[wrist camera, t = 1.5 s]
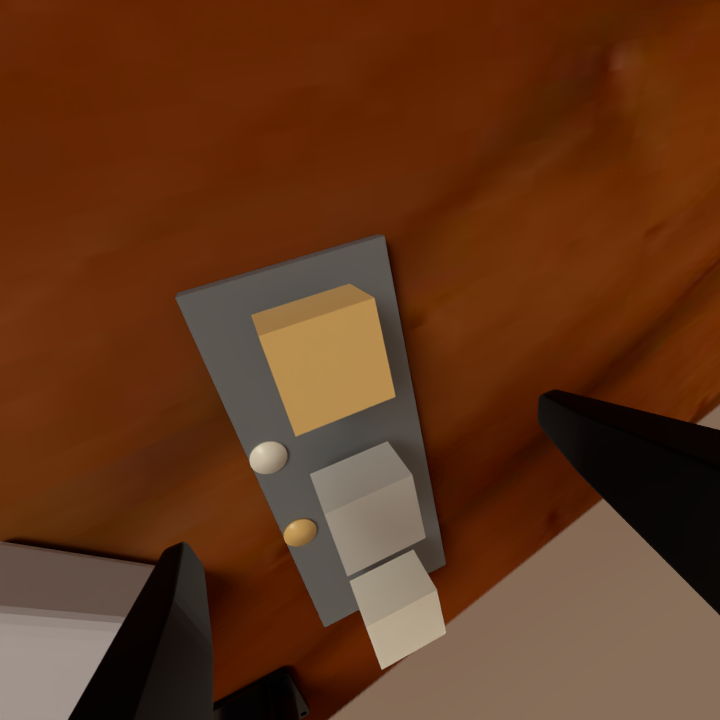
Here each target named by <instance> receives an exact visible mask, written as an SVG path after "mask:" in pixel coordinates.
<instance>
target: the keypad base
mask: <svg viewBox="0 0 720 720" xmlns="http://www.w3.org/2000/svg"><path fill="white" fill-rule="evenodd" d="M347 284H351V285H353V286H355V287H357V288H358V289H360V290H362V291H364V292H365V293H367V294H369V295H371V296H372V297H374V298H375V303H376V307H377V312H378V317H379V321H380V326H381V331H382V335H383V340H384V345H385V349H386V354H387V359H388V363H389V368H390V373H391V377H392V382H393V387H394V392H395V396H396V397H394V398H391V399H389V400H386V401H384V402H381V403H379V404H376V405H374V406H371V407H369V408H366V409H364V410H361V411H359V412H356V413H354V414H351V415H349V416H346V417H344V418H341V419H339V420H336V421H334V422H331V423H329V424H326V425H324V426H321V427H319V428H316V429H314V430H311V431H309V432H306V433H304V434H301V435H299V436H295V434H294V431H293V428H292V426H291V423H290V420H289V418H288V415H287V412H286V409H285V407H284V404H283V401H282V399H281V396H280V393H279V390H278V388H277V385H276V382H275V380H274V377H273V374H272V372H271V369H270V366H269V363H268V361H267V358H266V355H265V353H264V350H263V347H262V345H261V342H260V339H259V336H258V334H257V331H256V328H255V325H254V322H253V319H252V316H251V315H252V314H256V313H259V312H262V311H265V310H268V309H271V308H274V307H278V306H281V305H284V304H287V303H290V302H293V301H296V300H300V299H303V298H306V297H309V296H312V295H315V294H318V293H322V292H325V291H328V290H331V289H334V288H337V287H340V286H344V285H347ZM175 298H176V300H177V303H178V305H179V307H180V309H181V311H182V314H183V316H184V318H185V320H186V322H187V325H188V327H189V329H190V331H191V333H192V336H193V338H194V340H195V342H196V345H197V347H198V349H199V351H200V353H201V356H202V358H203V360H204V362H205V364H206V367H207V369H208V371H209V373H210V375H211V378H212V380H213V382H214V384H215V386H216V389H217V391H218V393H219V395H220V398H221V400H222V402H223V404H224V406H225V409H226V411H227V413H228V415H229V417H230V420H231V422H232V424H233V426H234V428H235V431H236V433H237V435H238V437H239V439H240V442H241V444H242V446H243V448H244V451H245V453H246V455H247V457H248V459H249V462H250V465H251V467H252V469H253V470H254V473H255V475H256V477H257V479H258V481H259V484H260V486H261V488H262V490H263V492H264V495H265V497H266V499H267V501H268V504H269V506H270V508H271V510H272V512H273V515H274V517H275V519H276V521H277V523H278V526H279V528H280V530H281V532H282V534H283V537H284V540H285V542H286V543H287V545H288V548H289V550H290V552H291V554H292V557H293V559H294V561H295V563H296V565H297V568H298V570H299V572H300V574H301V576H302V579H303V581H304V583H305V585H306V587H307V590H308V592H309V594H310V596H311V598H312V601H313V603H314V605H315V607H316V610H317V612H318V614H319V616H320V618H321V621H322V623H323V625H324V627H327V626H328V625H330V624H332V623H334V622H336V621H338V620H340V619H342V618H344V617H346V616H348V615H350V614H352V613H354V612H355V611H357V610H359V606H358V604H357V601H356V598H355V595H354V592H353V590H352V587H351V584H350V581H351V580H353V579H355V578H357V577H359V576H361V575H363V574H365V573H367V572H369V571H371V570H373V569H375V568H377V567H379V566H381V565H383V564H385V563H387V562H389V561H391V560H393V559H395V558H397V557H399V556H401V555H403V554H405V553H407V552H409V551H411V550H414V551H415V553H416V555H417V557H418V558H419V560H420V562H421V563H422V565H423V567H424V569H425V570H426V572H427V574H429V573H431V572H432V571H434V570H436V569H438V568H440V567H442V566H444V565H446V562H445V556H444V551H443V546H442V540H441V535H440V530H439V524H438V519H437V514H436V508H435V503H434V498H433V492H432V487H431V482H430V476H429V471H428V466H427V460H426V455H425V450H424V444H423V439H422V434H421V428H420V423H419V418H418V413H417V407H416V402H415V397H414V391H413V386H412V381H411V375H410V370H409V365H408V359H407V354H406V349H405V343H404V338H403V333H402V327H401V322H400V317H399V311H398V306H397V301H396V295H395V290H394V285H393V279H392V274H391V269H390V263H389V258H388V253H387V247H386V242H385V237H384V236H382V235H373V236H370V237H366V238H363V239H360V240H356V241H353V242H349V243H346V244H342V245H339V246H336V247H332V248H329V249H325V250H322V251H319V252H315V253H312V254H308V255H305V256H302V257H298V258H295V259H291V260H288V261H284V262H281V263H278V264H274V265H271V266H267V267H264V268H261V269H257V270H254V271H250V272H247V273H244V274H240V275H237V276H233V277H230V278H226V279H223V280H220V281H216V282H213V283H209V284H206V285H203V286H199V287H196V288H192V289H189V290H186V291H182V292H179V293H177V295H176V297H175ZM387 441H388V443H389V444H390V445H391V447H392V448H393V449H394V451H395V452H396V453H397V455H398V456H399V458H400V459H401V460H402V462H403V463H404V464H405V466H406V467H407V468H408V470H409V471H410V472H411V474H412V476H413V481H414V485H415V490H416V495H417V499H418V504H419V509H420V513H421V518H422V523H423V527H424V532H425V537H426V538H424V539H422V540H420V541H418V542H416V543H414V544H412V545H410V546H408V547H406V548H404V549H402V550H400V551H398V552H396V553H394V554H392V555H390V556H388V557H386V558H384V559H382V560H380V561H378V562H376V563H374V564H372V565H370V566H368V567H366V568H364V569H362V570H360V571H358V572H356V573H354V574H352V575H350V576H348V577H347V574H346V572H345V569H344V566H343V563H342V561H341V558H340V555H339V553H338V550H337V547H336V545H335V542H334V539H333V536H332V534H331V531H330V528H329V526H328V523H327V520H326V517H325V515H324V512H323V509H322V506H321V504H320V501H319V498H318V495H317V493H316V490H315V487H314V484H313V482H312V479H311V476H310V474H311V473H314V472H316V471H318V470H321V469H323V468H326V467H328V466H330V465H333V464H335V463H337V462H340V461H342V460H344V459H347V458H349V457H351V456H354V455H356V454H359V453H361V452H363V451H366V450H368V449H370V448H373V447H375V446H377V445H380V444H382V443H384V442H387Z"/></svg>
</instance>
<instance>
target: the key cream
mask: <svg viewBox="0 0 720 720" xmlns="http://www.w3.org/2000/svg"><path fill="white" fill-rule="evenodd" d="M350 584H351V587H352V590H353V592H354V595H355V598H356V601H357V604H358V606H359V609H360V612H361V615H362V617H363V620H364V623H365V626H366V628H367V631H368V634H369V636H370V639H371V642H372V644H373V647H374V650H375V653H376V655H377V658H378V661H379V663H380V666H381V669H384V668H386V667H387V666H389V665H391V664H393V663H395V662H396V661H398V660H400V659H402V658H403V657H405V656H407V655H409V654H410V653H412V652H414V651H416V650H418V649H419V648H421V647H423V646H425V645H426V644H428V643H430V642H432V641H433V640H435V639H437V638H439V637H440V636H442V635H444V634H446V630H445V626H444V621H443V616H442V612H441V607H440V602H439V598H438V593H437V589H436V588H435V586H434V584H433V582H432V581H431V579H430V577H429V575H428V574H427V572H426V570H425V569H424V567H423V565H422V563H421V562H420V560H419V558H418V557H417V555H416V553H415V551H414V550H411V551H409V552H407V553H405V554H403V555H401V556H399V557H397V558H395V559H393V560H391V561H389V562H387V563H385V564H383V565H381V566H379V567H377V568H375V569H373V570H371V571H369V572H367V573H365V574H363V575H361V576H359V577H357V578H355V579H353V580H351V581H350Z"/></svg>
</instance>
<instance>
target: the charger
mask: <svg viewBox="0 0 720 720" xmlns="http://www.w3.org/2000/svg"><path fill="white" fill-rule="evenodd" d="M154 567H155V565H149V564H143V563H136V562H130V561H123V560H117V559H110V558H104V557H98V556H91V555H85V554H78V553H72V552H66V551H59V550H53V549H46V548H40V547H33V546H27V545H21V544H14V543H8V542H0V720H68V718H69V716H70V714H71V713H72V711H73V709H74V707H75V706H76V704H77V702H78V700H79V699H80V697H81V695H82V693H83V692H84V690H85V688H86V686H87V685H88V683H89V681H90V679H91V678H92V676H93V674H94V672H95V671H96V669H97V667H98V665H99V664H100V662H101V660H102V658H103V657H104V655H105V653H106V651H107V649H108V648H109V646H110V644H111V642H112V641H113V639H114V637H115V635H116V634H117V632H118V630H119V628H120V627H121V625H122V623H123V621H124V620H125V618H126V616H127V614H128V613H129V611H130V609H131V607H132V606H133V604H134V602H135V600H136V599H137V597H138V595H139V593H140V592H141V590H142V588H143V586H144V585H145V583H146V581H147V579H148V577H149V576H150V574H151V572H152V570H153V569H154Z"/></svg>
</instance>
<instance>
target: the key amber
mask: <svg viewBox="0 0 720 720" xmlns="http://www.w3.org/2000/svg"><path fill="white" fill-rule="evenodd" d="M251 316H252V319H253V322H254V325H255V328H256V331H257V334H258V336H259V339H260V342H261V345H262V347H263V350H264V353H265V355H266V358H267V361H268V363H269V366H270V369H271V372H272V374H273V377H274V380H275V382H276V385H277V388H278V390H279V393H280V396H281V399H282V401H283V404H284V407H285V409H286V412H287V415H288V418H289V420H290V423H291V426H292V428H293V431H294V434H295V436H299V435H301V434H304V433H306V432H309V431H311V430H314V429H316V428H319V427H321V426H324V425H326V424H329V423H331V422H334V421H336V420H339V419H341V418H344V417H346V416H349V415H351V414H354V413H356V412H359V411H361V410H364V409H366V408H369V407H371V406H374V405H376V404H379V403H381V402H384V401H386V400H389V399H391V398H394V397H396V396H395V392H394V387H393V382H392V377H391V373H390V368H389V363H388V359H387V354H386V349H385V345H384V340H383V335H382V331H381V326H380V321H379V317H378V312H377V307H376V303H375V298H374V297H372V296H371V295H369V294H367V293H365V292H364V291H362V290H360V289H358V288H357V287H355V286H353V285H351V284H347V285H344V286H340V287H337V288H334V289H331V290H328V291H325V292H322V293H318V294H315V295H312V296H309V297H306V298H303V299H300V300H296V301H293V302H290V303H287V304H284V305H281V306H278V307H274V308H271V309H268V310H265V311H262V312H259V313H256V314H252V315H251Z"/></svg>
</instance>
